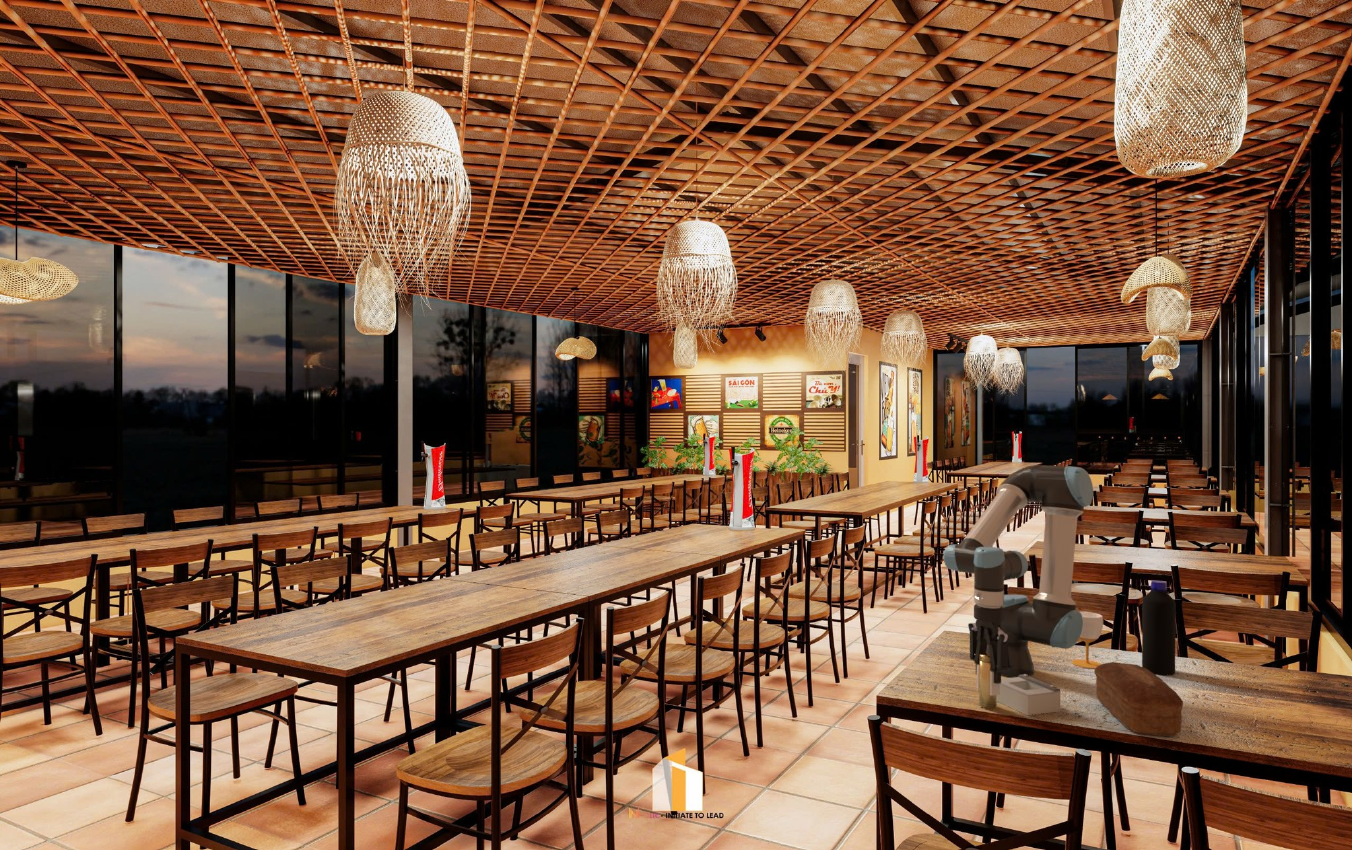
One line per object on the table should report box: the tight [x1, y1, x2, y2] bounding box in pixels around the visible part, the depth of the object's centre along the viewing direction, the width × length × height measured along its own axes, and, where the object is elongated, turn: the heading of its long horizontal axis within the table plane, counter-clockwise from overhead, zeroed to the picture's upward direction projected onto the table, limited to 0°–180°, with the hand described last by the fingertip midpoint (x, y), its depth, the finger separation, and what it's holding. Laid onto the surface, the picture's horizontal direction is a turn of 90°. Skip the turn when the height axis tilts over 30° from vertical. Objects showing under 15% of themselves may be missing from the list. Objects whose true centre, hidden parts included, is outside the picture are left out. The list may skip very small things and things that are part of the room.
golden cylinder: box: [978, 653, 998, 711], centre depth 209 cm, size 4×4×14 cm
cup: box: [1070, 611, 1104, 670], centre depth 248 cm, size 9×9×16 cm
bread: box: [1093, 661, 1184, 737], centre depth 202 cm, size 14×28×12 cm, turn 169°
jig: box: [997, 674, 1061, 716], centre depth 210 cm, size 11×13×6 cm
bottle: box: [1141, 580, 1177, 676], centre depth 242 cm, size 9×9×28 cm
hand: (988, 691), depth 209 cm, fingers closed on golden cylinder, 4 cm apart
